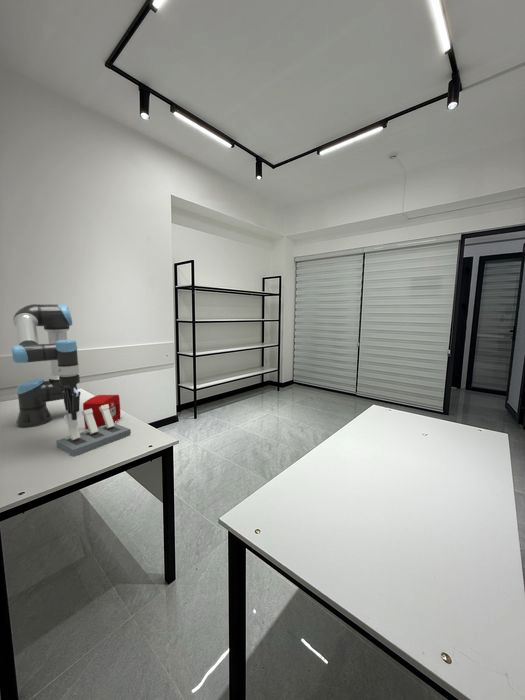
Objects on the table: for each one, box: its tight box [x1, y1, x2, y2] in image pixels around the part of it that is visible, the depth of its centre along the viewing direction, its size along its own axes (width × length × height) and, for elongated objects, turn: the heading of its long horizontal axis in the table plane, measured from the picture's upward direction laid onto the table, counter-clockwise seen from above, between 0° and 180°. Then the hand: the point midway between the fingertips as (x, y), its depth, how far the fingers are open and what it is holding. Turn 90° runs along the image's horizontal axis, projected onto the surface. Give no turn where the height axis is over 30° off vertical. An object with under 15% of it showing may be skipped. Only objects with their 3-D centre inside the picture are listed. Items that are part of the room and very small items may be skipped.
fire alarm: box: [82, 394, 121, 430], centre depth 157 cm, size 16×11×15 cm
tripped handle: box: [63, 413, 81, 440], centre depth 131 cm, size 2×4×12 cm, turn 146°
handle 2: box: [99, 404, 115, 429], centre depth 144 cm, size 2×4×12 cm
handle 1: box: [81, 408, 98, 434], centre depth 138 cm, size 2×4×12 cm
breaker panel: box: [55, 422, 132, 457], centre depth 137 cm, size 16×26×3 cm, turn 147°
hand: (73, 426), depth 130 cm, fingers closed
